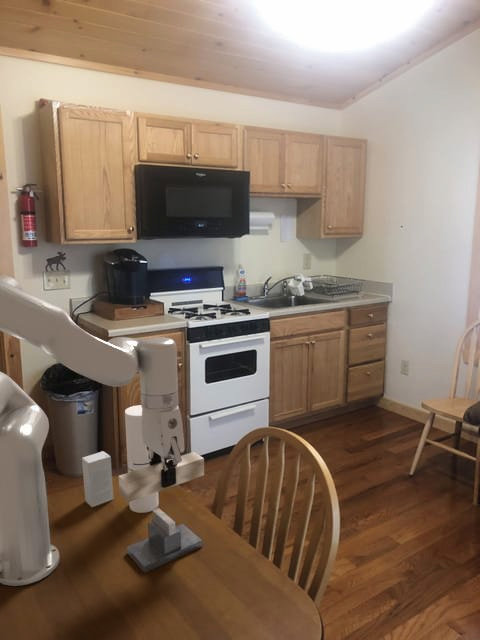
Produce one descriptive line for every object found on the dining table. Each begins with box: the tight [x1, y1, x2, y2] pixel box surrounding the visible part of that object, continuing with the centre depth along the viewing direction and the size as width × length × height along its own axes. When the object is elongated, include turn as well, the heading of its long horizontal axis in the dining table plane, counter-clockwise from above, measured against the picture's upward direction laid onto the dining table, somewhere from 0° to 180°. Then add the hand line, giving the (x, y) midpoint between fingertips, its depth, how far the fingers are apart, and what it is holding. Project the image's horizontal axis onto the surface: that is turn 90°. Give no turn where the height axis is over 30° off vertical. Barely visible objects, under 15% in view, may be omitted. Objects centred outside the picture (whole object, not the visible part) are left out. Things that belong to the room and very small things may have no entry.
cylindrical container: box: [124, 404, 159, 514], centre depth 128 cm, size 7×7×25 cm
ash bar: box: [118, 451, 205, 503], centre depth 109 cm, size 18×4×4 cm, turn 127°
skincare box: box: [81, 450, 114, 508], centre depth 131 cm, size 6×4×12 cm
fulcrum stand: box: [126, 507, 203, 574], centre depth 112 cm, size 14×8×8 cm, turn 128°
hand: (163, 480), depth 110 cm, fingers closed on ash bar, 4 cm apart
